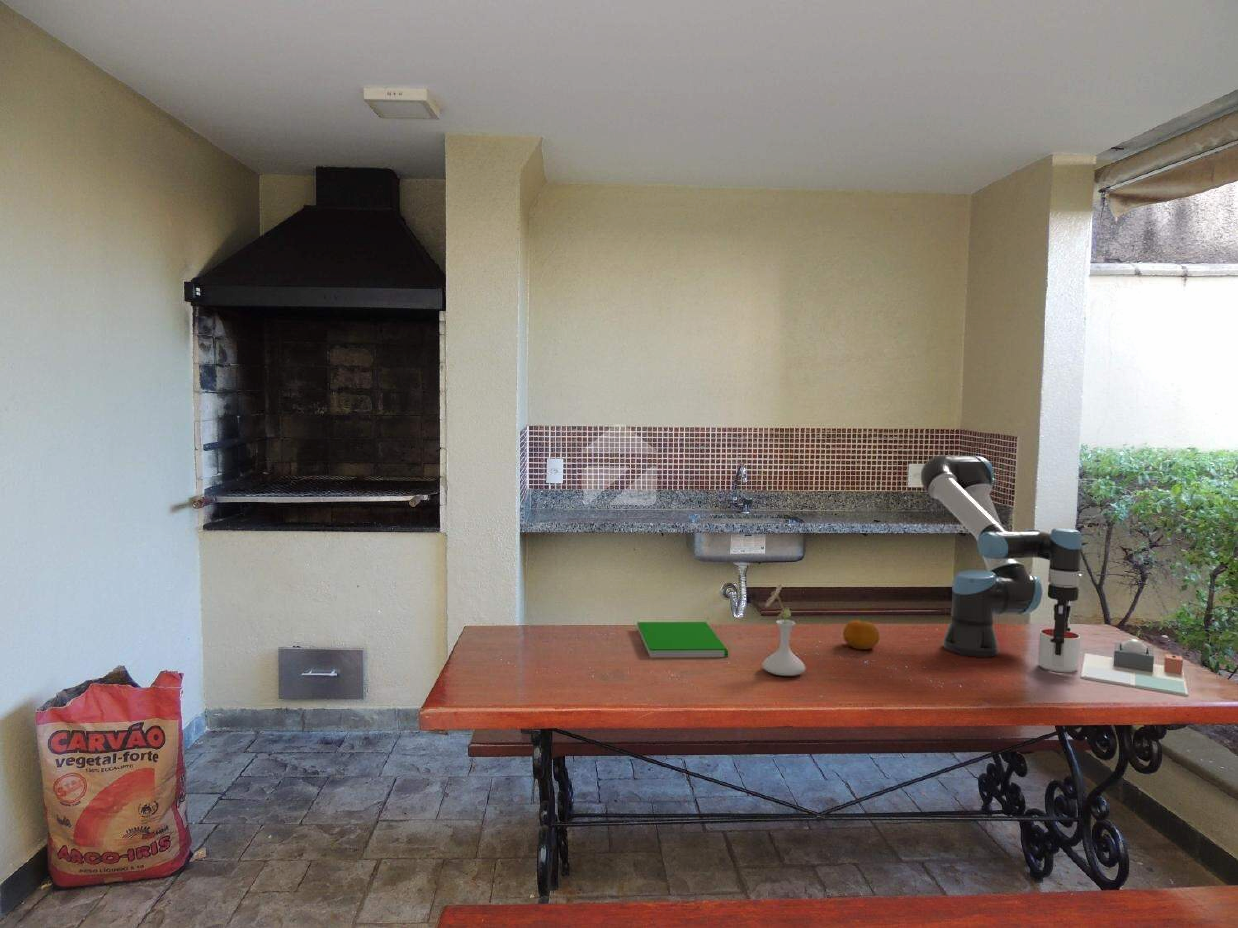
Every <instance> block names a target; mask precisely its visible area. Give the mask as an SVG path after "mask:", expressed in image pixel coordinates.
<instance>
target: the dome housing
mask: <svg viewBox="0 0 1238 928" xmlns="http://www.w3.org/2000/svg"><path fill="white" fill-rule="evenodd" d="M1113 651H1114V653H1113V658H1114V664H1113V666H1116V667H1122V668H1128V669H1134V670H1141V671H1147V672H1153V664H1155V662H1154V660H1155V654H1154V653H1155V652H1154V648H1153V647H1147V651H1146V654H1141V653H1135V652H1128V651H1122V642H1121V643H1119V642H1114V650H1113Z"/></svg>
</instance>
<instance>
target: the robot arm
mask: <svg viewBox="0 0 1238 928" xmlns="http://www.w3.org/2000/svg"><path fill="white" fill-rule="evenodd" d="M994 477H995V471H994V468H993V466H992V464H991V462H990V461H988V460H987V459H986V458H984V457H983V456H980V455H973V454H968V455H947V454H946V455H945V454H943V455H937V456H936V455H935V456H934V457H931V458H930V459H928V460H927V461H926V462H925V463H924V464H923V466H922V469H921V472H920V481H921V485H922V487H923V489H924V490H925V492H927V493H928V495H929V496H930V497H931V498H933V499H935V500H939V502H941V504H943V506H945V508H946V509H948V511H949V512H950V513H952V515H953V516H954V517H955V518H956V519H957V520H958V521H959V522H960V523H961V524H962V525H963V526H964V527H965V528H966V529H967V531H968V532H970V534H972V535H973V536H974V538H975V540H976V547H977V549H978V553H979V554H980V555H981V556H982V558H983V559H982V560H983V561H984V564H985V567H986V569H987V570H986V569H968V570H962V571H959V572H958V573H956V574H955V576H954V577H953V584H952V588H951V591H952V596H951V617H950V623H949V626H948V628H947V630H946V632H945V635H944V637H943V643H942V645H943V646H942V647H943V648H944V649H945V650H946V651H949V652H951V653H953V654H958V655H961V656H969V657H975V658H976V657H977V658H990V657H995V656H997V655H999V643H998V640H997V637H996V636H997V635H996V632H995V630H994V619H995V618H994V616H995V615H999V616H1000V615H1023V614H1028V613H1032V612H1034V611H1035V610H1037V609H1038V608H1039V606H1040V605H1041V601H1042V598H1043V586H1042V583H1041V581H1040V578H1038V577H1037V576H1036V575H1034V574H1032V573H1028V572H1027V570H1026V567H1025V565H1024V564H1023V563H1022V562H1019V561H1017V559H1028V558H1031V559H1034V558H1037V559H1043V560H1048V561H1049V565H1048V580H1047V581H1048V582H1049V584H1048V587H1047V597H1048V598H1049V599H1051V600H1056V601H1057V603H1054V605H1053V612H1054V613H1053V620H1054V627H1053V629H1054V637H1053V639H1051V640H1050V642H1053V654H1052V666H1058V667H1063V661H1064V644H1065V643H1064V635H1065V631H1070V632H1071V627H1069V617H1070V612H1071V607H1072V606H1071V605H1069V602H1076V601H1078V600H1079V593H1080V591H1079V590H1080V588H1079V584H1080V579H1082V578H1083V576H1082V574H1080V571H1081V570H1080V569H1081V557H1082V556H1081V555H1082V548H1083V545H1082V533H1081V532H1080V531H1079V530H1077V529H1073V528H1064V527H1061V528H1060V527H1058V528H1056V527H1055V528H1052V530H1051V532H1045V531H1041V530H1038V529H1023V530H1022V531H1008V530H1006V529H1005V528H1004V526H1003V524H1002V522H1001V520H1000V518H999V516H998V515H999V514H998V513H997V510H996V508H995V505H994V503H993V501H992V497H991V495H990V494H991V492H992V491H993V485H994V482H995V478H994ZM1057 637H1058V638H1057Z"/></svg>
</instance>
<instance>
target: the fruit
mask: <svg viewBox="0 0 1238 928" xmlns="http://www.w3.org/2000/svg"><path fill="white" fill-rule="evenodd" d="M842 635H843V639H844V641H845V643H847V645H848V646H850V647H851V648H853V649H857V650H869V649H872V648H875V646H876V645H877V644H878V642H879V641H880V632H879V629H878V628H877V626H876V625H875V624H874V623H872V622H870V621H863V620H860V619H854V620H850V621H849V622H847V624H846V625H845V626H844V628H843V634H842Z"/></svg>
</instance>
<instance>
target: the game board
mask: <svg viewBox="0 0 1238 928" xmlns="http://www.w3.org/2000/svg"><path fill="white" fill-rule="evenodd" d="M1163 663H1164V664H1163V665H1162V664H1155V663H1153V672H1147V671H1141V670H1134V669H1128V668H1122V667H1116V666H1113V664H1114V657H1110V656H1104V655H1097V654H1092V653H1087V652H1086V653H1084V658H1083V665H1082V670H1081V676H1080V678H1081V679H1085V680H1090V681H1095V682H1101V683H1109V684H1113V685H1118V686H1125V687H1131V688H1137V689H1143V690H1148V691H1154V692H1160V693H1164V694H1165V693H1167V694H1173V695H1179V696H1183V697H1188V696H1189V692H1188V688H1187V683H1186V678H1185V674H1184V669H1183V665H1184V664H1183V663H1184V659H1183V656H1181V655H1174V654H1173V655H1172V654H1167V653H1165V654H1164V662H1163Z"/></svg>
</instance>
